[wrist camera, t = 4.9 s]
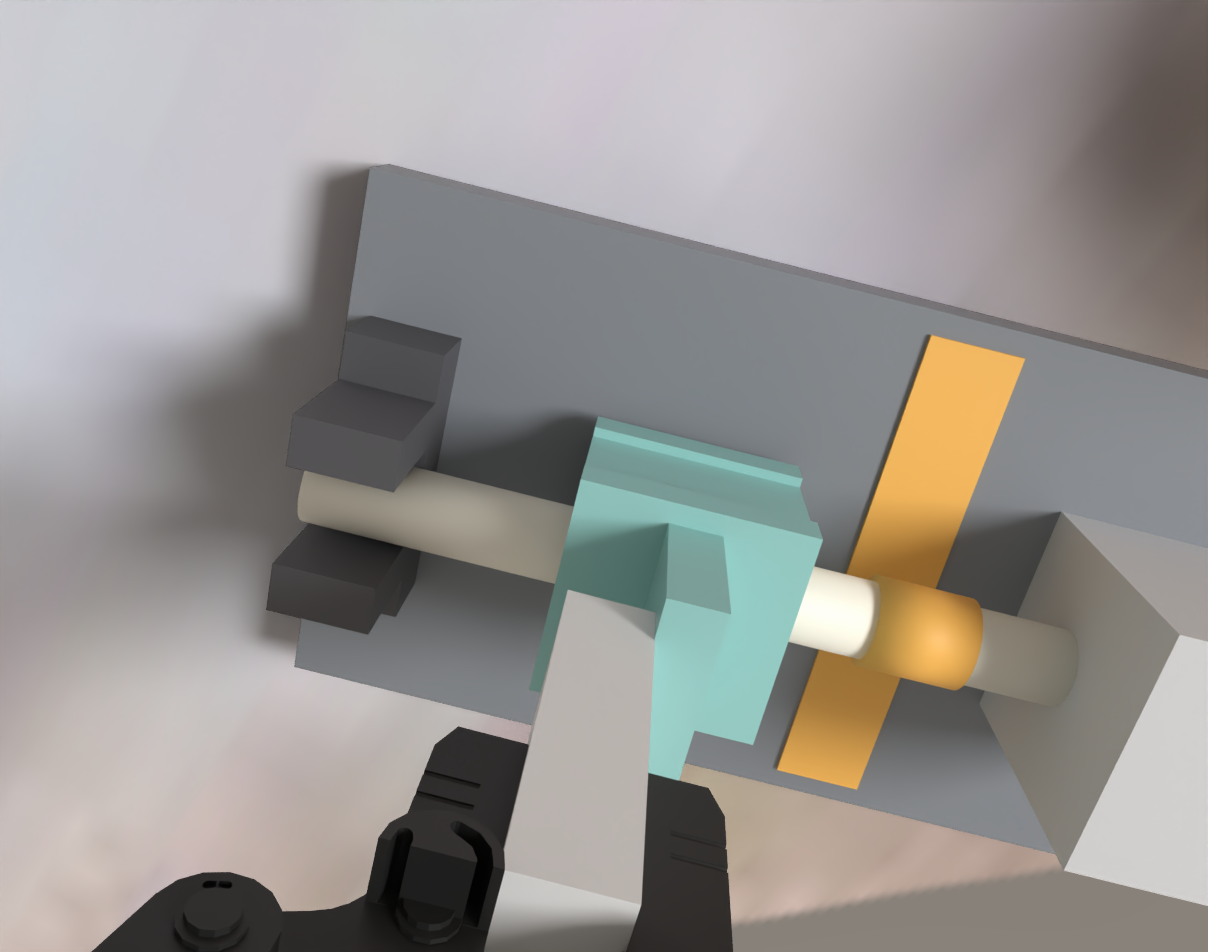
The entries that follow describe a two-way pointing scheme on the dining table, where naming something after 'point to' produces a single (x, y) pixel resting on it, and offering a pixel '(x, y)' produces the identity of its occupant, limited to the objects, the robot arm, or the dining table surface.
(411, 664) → the cable board
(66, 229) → the dining table surface
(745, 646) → the sleeve
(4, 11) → the dining table surface
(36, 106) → the dining table surface
